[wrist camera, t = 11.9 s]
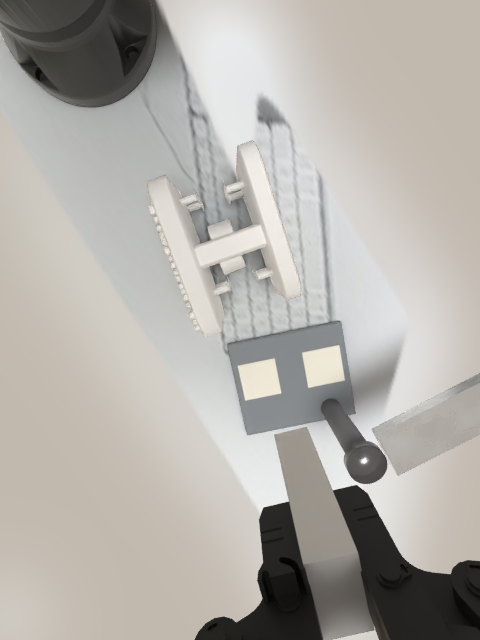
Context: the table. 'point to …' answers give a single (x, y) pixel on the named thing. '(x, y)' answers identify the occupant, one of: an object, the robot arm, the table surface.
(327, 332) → the label board
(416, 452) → the grey lever handle
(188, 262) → the cable organizer
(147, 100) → the table surface
